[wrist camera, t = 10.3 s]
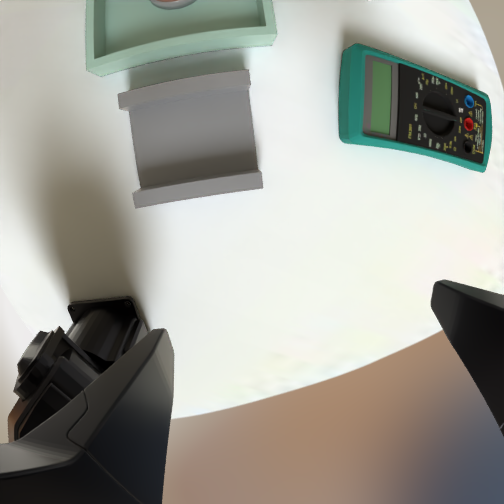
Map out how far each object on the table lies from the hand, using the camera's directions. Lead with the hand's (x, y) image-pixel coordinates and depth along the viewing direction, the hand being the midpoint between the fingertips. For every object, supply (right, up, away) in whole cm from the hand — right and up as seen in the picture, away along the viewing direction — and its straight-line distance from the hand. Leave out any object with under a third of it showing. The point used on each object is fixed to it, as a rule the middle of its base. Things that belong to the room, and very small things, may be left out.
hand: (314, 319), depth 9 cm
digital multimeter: (+11, +13, +11) cm, 20 cm away
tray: (-7, +21, +5) cm, 23 cm away
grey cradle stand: (-6, +10, +10) cm, 15 cm away
